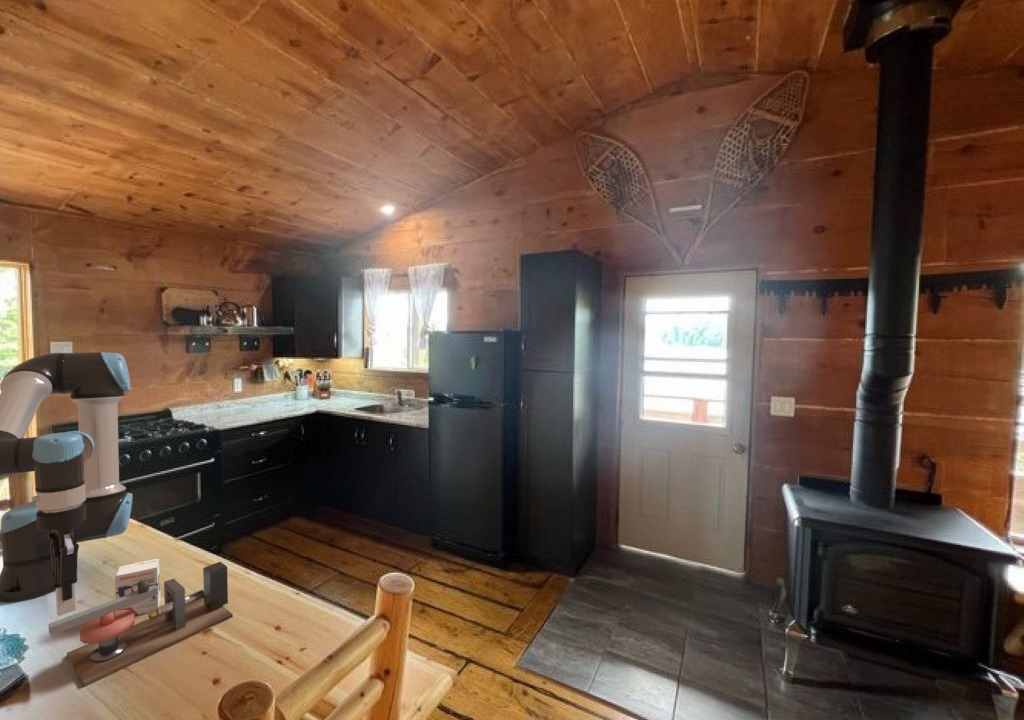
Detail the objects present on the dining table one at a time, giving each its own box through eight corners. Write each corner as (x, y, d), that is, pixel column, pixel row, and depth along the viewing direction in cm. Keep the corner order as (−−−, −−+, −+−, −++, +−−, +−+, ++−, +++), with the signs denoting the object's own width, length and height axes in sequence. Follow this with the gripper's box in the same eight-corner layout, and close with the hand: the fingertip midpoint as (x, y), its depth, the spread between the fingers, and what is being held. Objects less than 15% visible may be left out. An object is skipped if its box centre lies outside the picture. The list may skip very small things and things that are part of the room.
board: (67, 656, 100) (66, 652, 100) (208, 596, 123) (208, 593, 123) (84, 686, 92) (84, 682, 92) (232, 616, 115) (232, 613, 115)
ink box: (115, 621, 112) (113, 575, 111) (119, 610, 116) (117, 566, 116) (159, 610, 117) (157, 566, 116) (160, 600, 121) (159, 557, 120)
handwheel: (45, 643, 96) (44, 607, 95) (150, 602, 110) (149, 570, 110) (56, 662, 90) (54, 624, 90) (164, 616, 105) (163, 583, 104)
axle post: (87, 654, 100) (86, 632, 100) (121, 639, 105) (121, 618, 105) (94, 666, 97) (93, 644, 96) (130, 650, 101) (129, 629, 101)
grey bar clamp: (145, 629, 108) (144, 589, 107) (221, 597, 121) (220, 561, 120) (151, 636, 105) (150, 595, 105) (227, 603, 119) (227, 566, 118)
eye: (165, 619, 112) (164, 581, 111) (174, 615, 114) (173, 578, 113) (175, 631, 108) (174, 591, 107) (185, 626, 110) (184, 588, 109)
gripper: (29, 504, 97) (35, 608, 99) (43, 520, 90) (48, 633, 92) (77, 494, 104) (81, 593, 105) (93, 508, 96) (97, 614, 98)
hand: (66, 611), depth 98 cm, fingers closed
